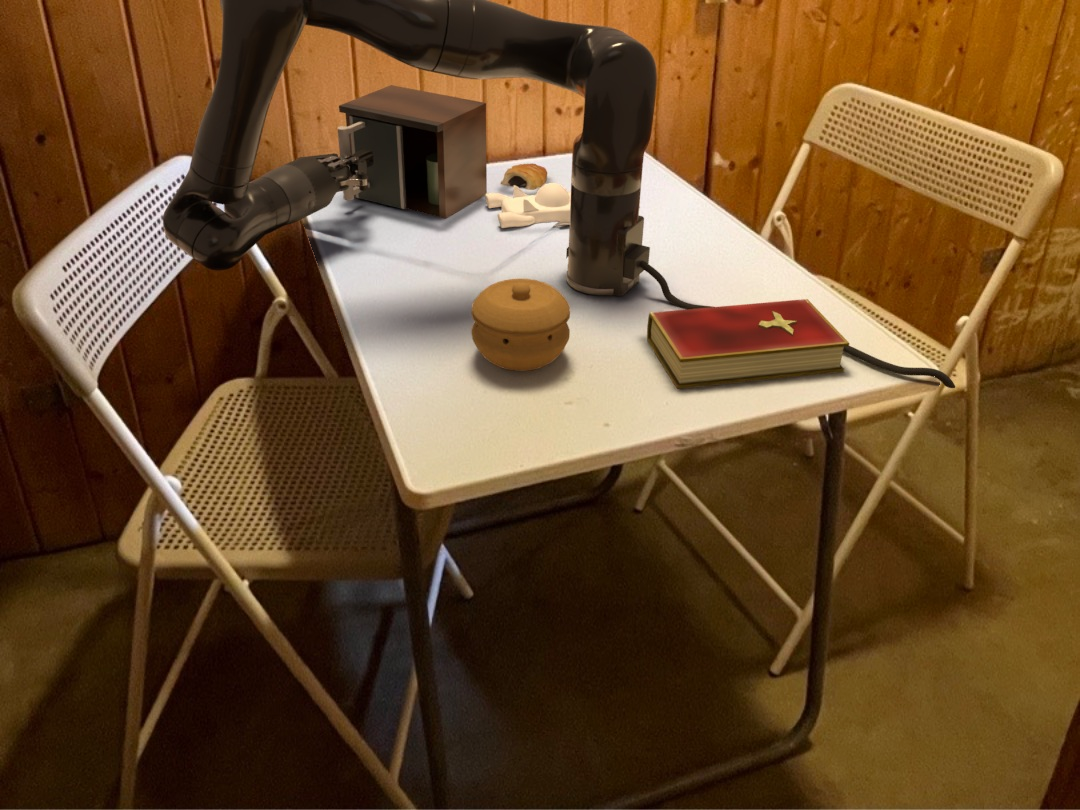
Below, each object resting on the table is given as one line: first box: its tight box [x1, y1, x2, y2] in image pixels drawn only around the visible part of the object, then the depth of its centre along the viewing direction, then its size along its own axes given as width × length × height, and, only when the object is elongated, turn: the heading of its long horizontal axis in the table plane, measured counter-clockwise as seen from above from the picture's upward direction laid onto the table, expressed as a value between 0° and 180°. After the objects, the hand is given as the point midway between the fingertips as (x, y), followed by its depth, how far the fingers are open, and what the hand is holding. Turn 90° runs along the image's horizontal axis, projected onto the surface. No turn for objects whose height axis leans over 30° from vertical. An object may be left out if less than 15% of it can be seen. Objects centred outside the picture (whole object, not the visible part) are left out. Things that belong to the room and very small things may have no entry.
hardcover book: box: [646, 298, 850, 390], centre depth 123 cm, size 12×21×4 cm, turn 102°
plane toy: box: [484, 182, 571, 229], centre depth 157 cm, size 10×20×6 cm, turn 106°
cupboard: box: [338, 84, 488, 220], centre depth 159 cm, size 13×18×16 cm
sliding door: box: [336, 115, 407, 210], centre depth 154 cm, size 6×9×13 cm, turn 61°
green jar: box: [426, 153, 439, 205], centre depth 160 cm, size 5×5×7 cm
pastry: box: [500, 163, 548, 191], centre depth 170 cm, size 9×7×4 cm
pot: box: [470, 278, 571, 372], centre depth 120 cm, size 12×12×10 cm
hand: (369, 156), depth 152 cm, fingers closed
